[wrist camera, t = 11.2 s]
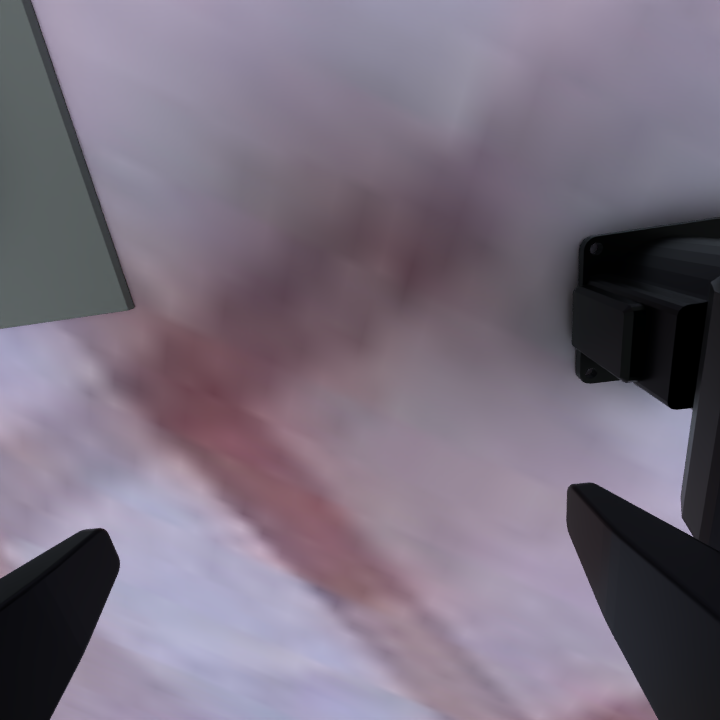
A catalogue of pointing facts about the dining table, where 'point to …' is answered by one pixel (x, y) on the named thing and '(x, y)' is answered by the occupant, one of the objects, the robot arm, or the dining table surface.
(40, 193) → the coaster mat
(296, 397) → the dining table surface
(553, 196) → the dining table surface
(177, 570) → the dining table surface
